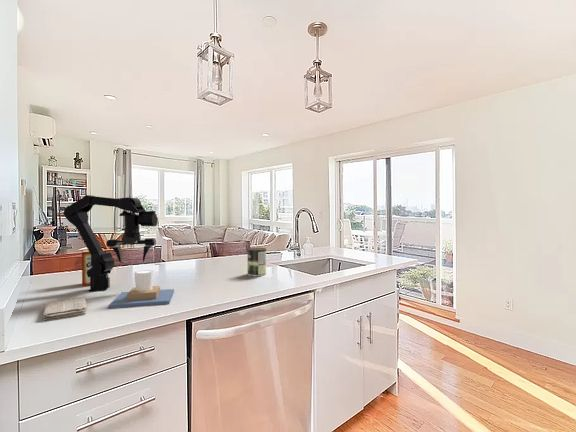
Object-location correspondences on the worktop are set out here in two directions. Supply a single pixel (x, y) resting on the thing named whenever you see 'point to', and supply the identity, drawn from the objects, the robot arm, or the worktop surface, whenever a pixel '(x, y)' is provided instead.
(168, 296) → the board
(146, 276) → the white cup
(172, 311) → the worktop surface
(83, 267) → the baking soda box
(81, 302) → the washcloth
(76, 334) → the worktop surface
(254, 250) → the coffee can
